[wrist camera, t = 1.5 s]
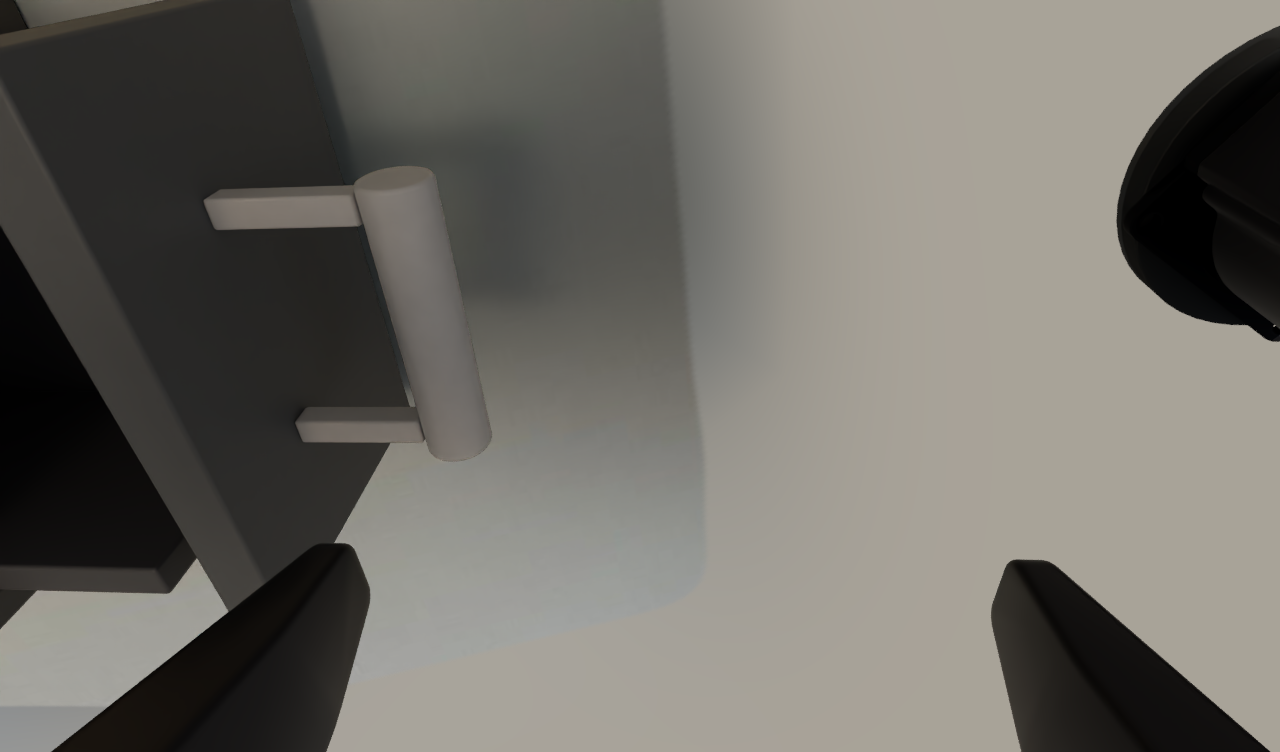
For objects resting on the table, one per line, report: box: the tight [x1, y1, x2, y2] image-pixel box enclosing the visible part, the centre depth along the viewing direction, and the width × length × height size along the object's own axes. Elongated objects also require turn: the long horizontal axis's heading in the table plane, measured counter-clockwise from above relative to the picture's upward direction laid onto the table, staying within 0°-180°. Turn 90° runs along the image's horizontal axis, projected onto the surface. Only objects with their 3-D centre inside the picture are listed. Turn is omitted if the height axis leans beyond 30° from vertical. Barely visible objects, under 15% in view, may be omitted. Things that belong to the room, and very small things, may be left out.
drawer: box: [0, 0, 492, 611], centre depth 16 cm, size 18×11×8 cm, turn 93°
